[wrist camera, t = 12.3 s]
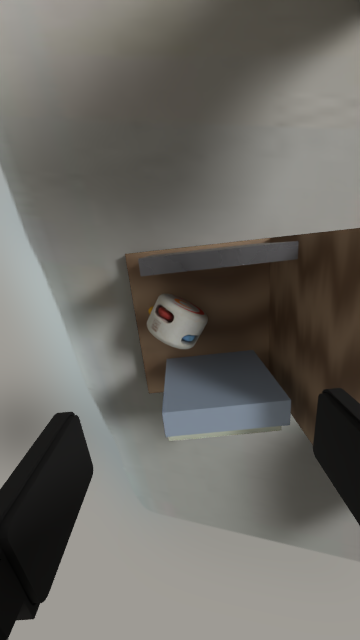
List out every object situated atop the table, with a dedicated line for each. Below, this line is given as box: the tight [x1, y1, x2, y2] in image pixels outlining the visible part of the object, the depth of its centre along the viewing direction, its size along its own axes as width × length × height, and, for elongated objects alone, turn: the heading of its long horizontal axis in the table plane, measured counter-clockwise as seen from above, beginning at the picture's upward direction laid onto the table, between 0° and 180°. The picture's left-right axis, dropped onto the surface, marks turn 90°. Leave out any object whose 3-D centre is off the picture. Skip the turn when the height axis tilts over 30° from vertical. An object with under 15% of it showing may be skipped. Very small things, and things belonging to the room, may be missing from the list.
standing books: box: [162, 350, 291, 441], centre depth 25 cm, size 5×11×10 cm, turn 96°
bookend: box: [138, 241, 299, 276], centre depth 21 cm, size 1×11×10 cm, turn 96°
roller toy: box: [147, 294, 208, 349], centre depth 25 cm, size 4×6×6 cm
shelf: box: [125, 228, 360, 445], centre depth 21 cm, size 18×18×16 cm
